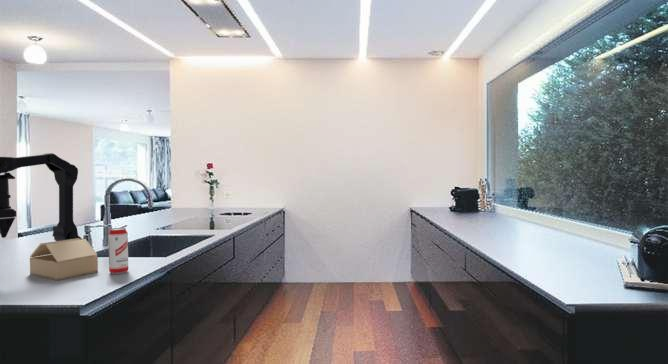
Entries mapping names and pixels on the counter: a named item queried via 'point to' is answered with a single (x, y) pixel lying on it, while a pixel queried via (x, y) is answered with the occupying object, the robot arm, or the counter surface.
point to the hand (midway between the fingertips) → (0, 236)
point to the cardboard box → (62, 267)
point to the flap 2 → (71, 250)
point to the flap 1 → (44, 250)
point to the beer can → (118, 250)
